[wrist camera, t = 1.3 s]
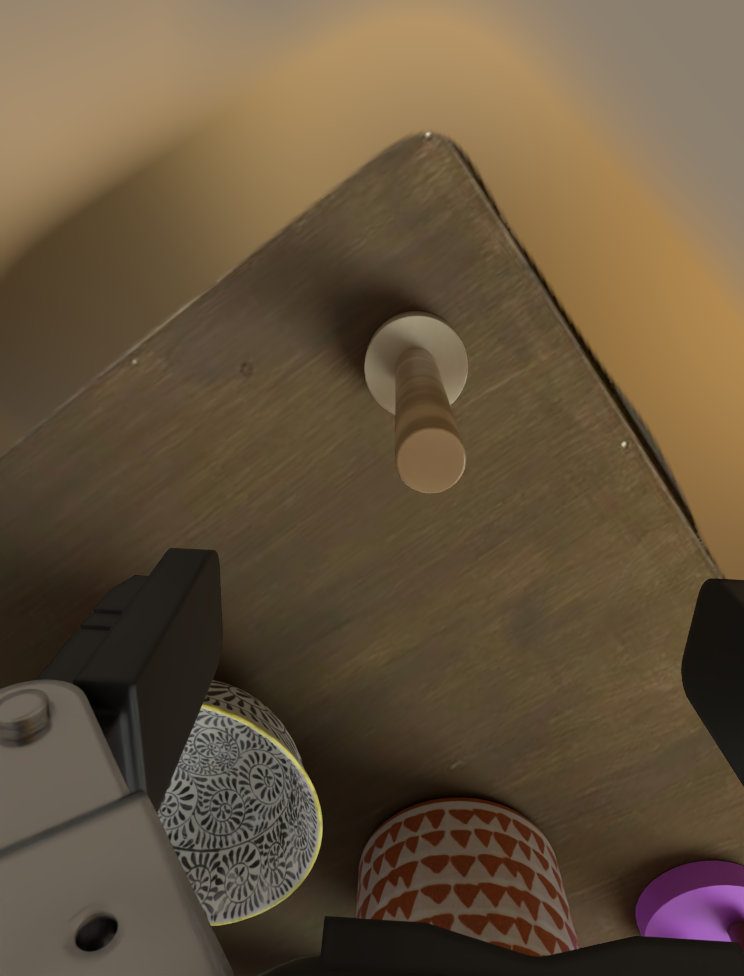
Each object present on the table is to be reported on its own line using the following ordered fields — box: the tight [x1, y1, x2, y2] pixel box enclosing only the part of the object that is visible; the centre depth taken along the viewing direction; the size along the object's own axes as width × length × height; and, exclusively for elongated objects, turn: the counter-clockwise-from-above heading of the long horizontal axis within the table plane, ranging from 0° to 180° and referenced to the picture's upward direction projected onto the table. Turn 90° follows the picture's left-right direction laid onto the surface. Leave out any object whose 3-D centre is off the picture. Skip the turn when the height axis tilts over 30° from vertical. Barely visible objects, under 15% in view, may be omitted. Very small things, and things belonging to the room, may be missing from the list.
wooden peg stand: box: [364, 311, 468, 493], centre depth 26 cm, size 5×5×16 cm
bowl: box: [157, 680, 323, 926], centre depth 39 cm, size 16×16×8 cm
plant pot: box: [356, 797, 579, 956], centre depth 40 cm, size 14×14×13 cm
